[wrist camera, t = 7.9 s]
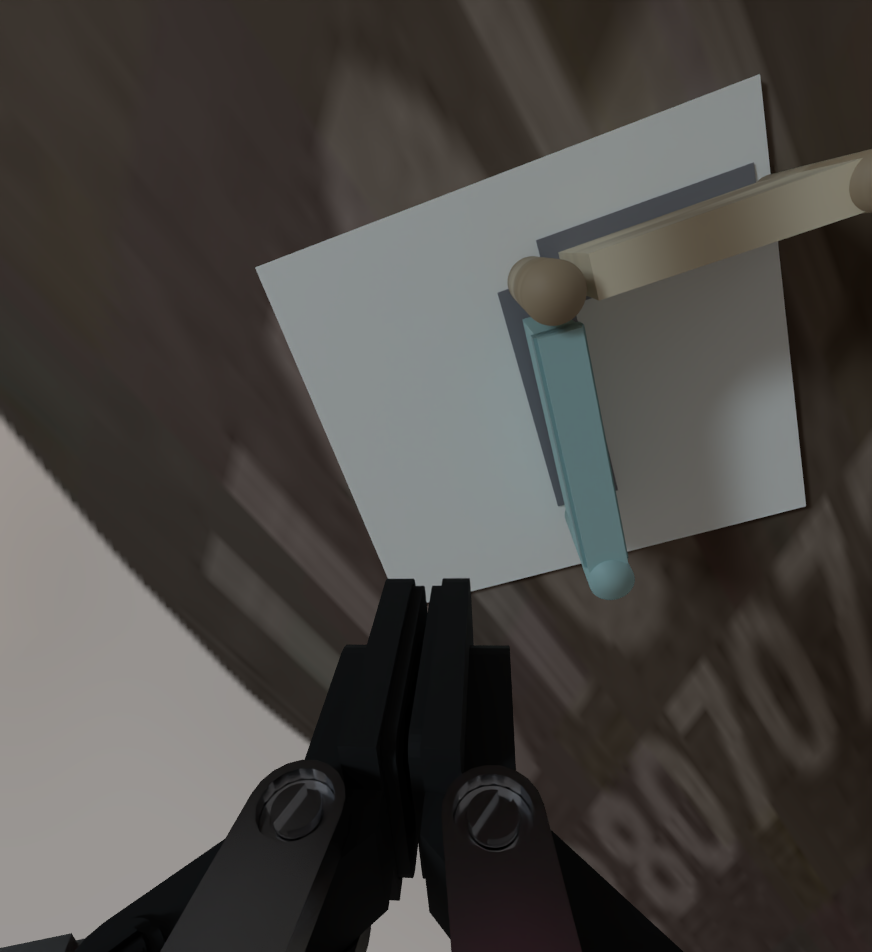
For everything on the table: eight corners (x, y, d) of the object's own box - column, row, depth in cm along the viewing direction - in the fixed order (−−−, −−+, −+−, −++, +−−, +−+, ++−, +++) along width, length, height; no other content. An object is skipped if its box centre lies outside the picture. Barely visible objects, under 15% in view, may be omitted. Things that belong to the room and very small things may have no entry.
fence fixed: (785, 164, 18) (929, 126, 12) (790, 216, 18) (930, 203, 13) (501, 265, 19) (514, 272, 14) (513, 310, 20) (532, 334, 14)
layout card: (755, 76, 17) (761, 72, 17) (801, 503, 22) (807, 507, 22) (258, 267, 20) (254, 267, 19) (401, 605, 25) (400, 610, 25)
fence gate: (519, 320, 19) (534, 341, 15) (559, 308, 19) (587, 326, 15) (568, 533, 22) (593, 603, 18) (603, 525, 22) (638, 594, 18)
